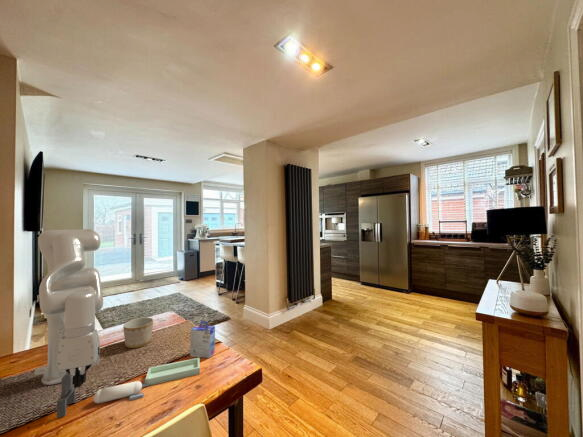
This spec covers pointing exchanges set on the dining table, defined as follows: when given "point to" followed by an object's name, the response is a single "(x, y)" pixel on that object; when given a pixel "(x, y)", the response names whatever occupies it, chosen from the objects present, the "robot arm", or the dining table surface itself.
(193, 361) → the tray
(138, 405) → the dining table surface
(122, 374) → the dining table surface
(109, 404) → the dining table surface
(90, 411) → the dining table surface
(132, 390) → the capsule
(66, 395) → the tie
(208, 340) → the ink cartridge box
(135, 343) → the planter
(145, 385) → the pair of grey bars
